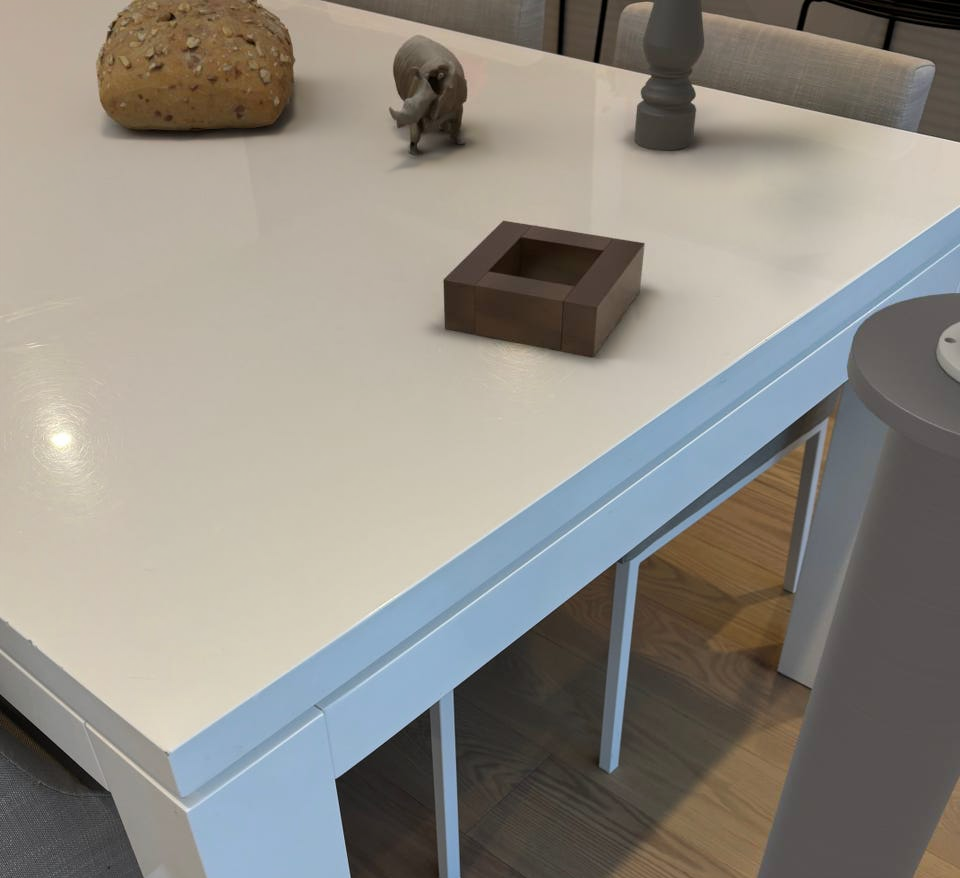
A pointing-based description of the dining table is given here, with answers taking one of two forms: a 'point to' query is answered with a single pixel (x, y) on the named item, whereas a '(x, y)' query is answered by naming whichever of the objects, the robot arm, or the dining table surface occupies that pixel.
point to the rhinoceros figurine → (429, 89)
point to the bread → (195, 65)
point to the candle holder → (670, 75)
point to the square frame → (544, 287)
